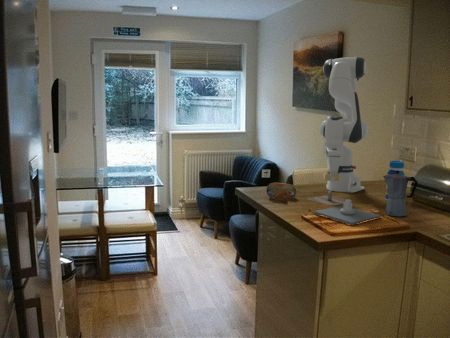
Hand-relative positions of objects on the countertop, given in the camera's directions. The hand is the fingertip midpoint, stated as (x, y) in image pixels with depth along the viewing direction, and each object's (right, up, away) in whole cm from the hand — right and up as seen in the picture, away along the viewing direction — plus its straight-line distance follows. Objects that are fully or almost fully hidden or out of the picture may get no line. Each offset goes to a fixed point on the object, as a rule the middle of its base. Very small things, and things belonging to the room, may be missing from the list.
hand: (331, 178), depth 213 cm
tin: (-23, -11, +7) cm, 27 cm away
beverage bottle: (+34, -12, +12) cm, 38 cm away
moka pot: (+25, -16, -16) cm, 34 cm away
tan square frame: (0, -1, 0) cm, 1 cm away
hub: (+2, -16, -21) cm, 27 cm away
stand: (-1, -12, +2) cm, 12 cm away
